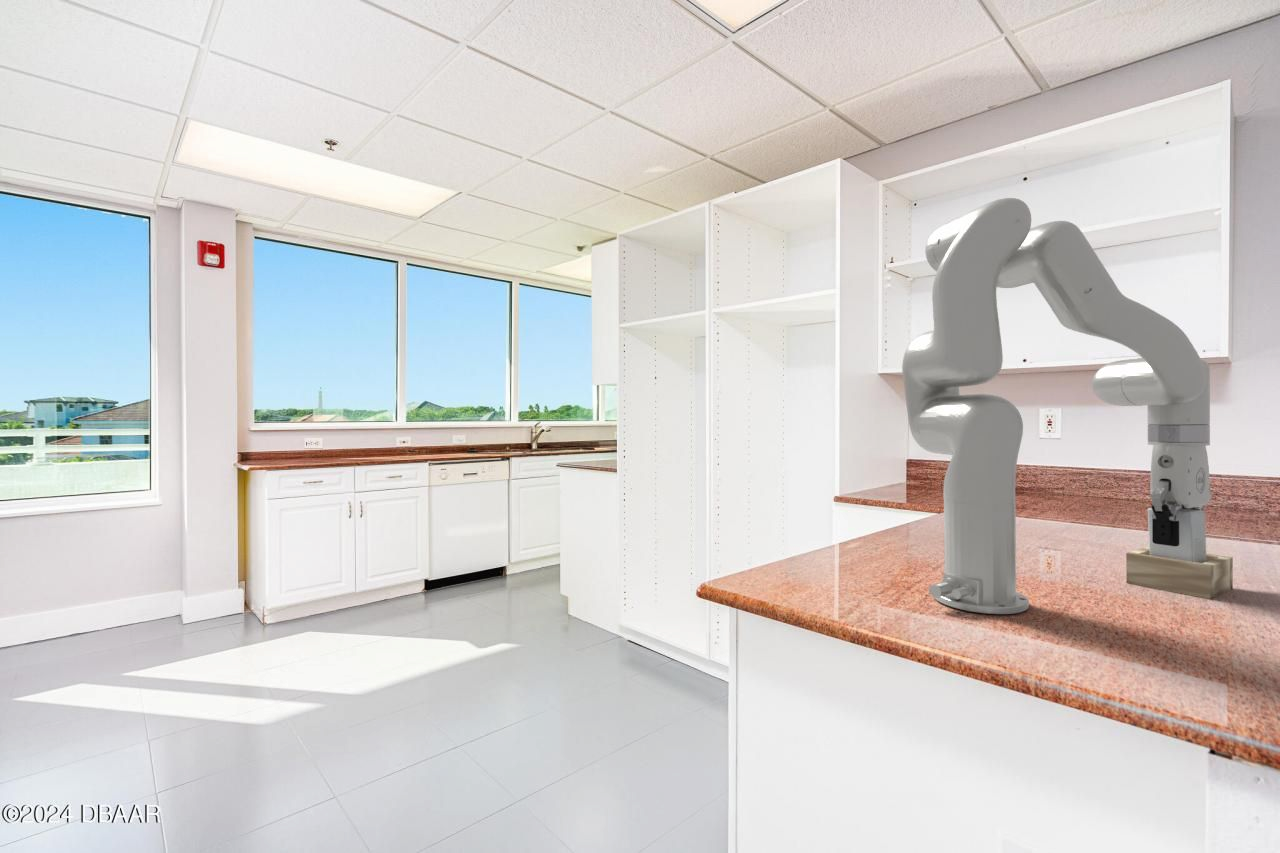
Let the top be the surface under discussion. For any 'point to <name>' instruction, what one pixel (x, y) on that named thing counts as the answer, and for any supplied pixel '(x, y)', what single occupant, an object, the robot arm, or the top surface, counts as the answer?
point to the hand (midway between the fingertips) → (1178, 541)
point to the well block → (1180, 573)
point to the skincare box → (1183, 537)
